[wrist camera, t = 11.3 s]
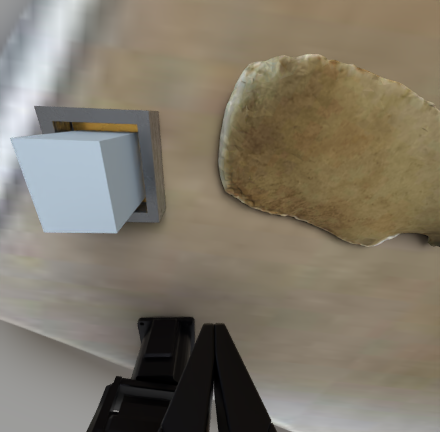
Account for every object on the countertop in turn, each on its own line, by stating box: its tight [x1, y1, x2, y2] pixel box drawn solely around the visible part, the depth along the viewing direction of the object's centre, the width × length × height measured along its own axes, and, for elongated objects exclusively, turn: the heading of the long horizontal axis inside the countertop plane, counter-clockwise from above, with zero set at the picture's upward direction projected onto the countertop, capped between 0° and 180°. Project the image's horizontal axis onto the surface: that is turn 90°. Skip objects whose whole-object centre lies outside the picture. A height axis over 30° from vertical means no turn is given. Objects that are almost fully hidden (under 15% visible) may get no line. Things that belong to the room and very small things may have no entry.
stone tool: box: [218, 54, 440, 247], centre depth 17 cm, size 12×4×25 cm
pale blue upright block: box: [10, 130, 146, 233], centre depth 14 cm, size 5×4×6 cm
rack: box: [34, 106, 166, 222], centre depth 16 cm, size 8×7×3 cm
